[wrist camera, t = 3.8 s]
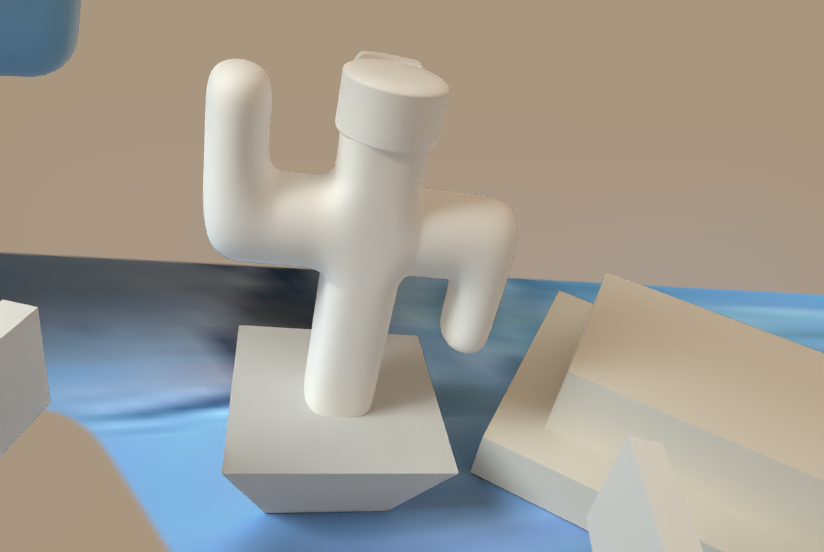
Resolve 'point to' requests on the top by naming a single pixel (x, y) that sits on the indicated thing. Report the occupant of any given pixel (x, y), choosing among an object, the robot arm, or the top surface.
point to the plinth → (667, 416)
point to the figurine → (347, 288)
